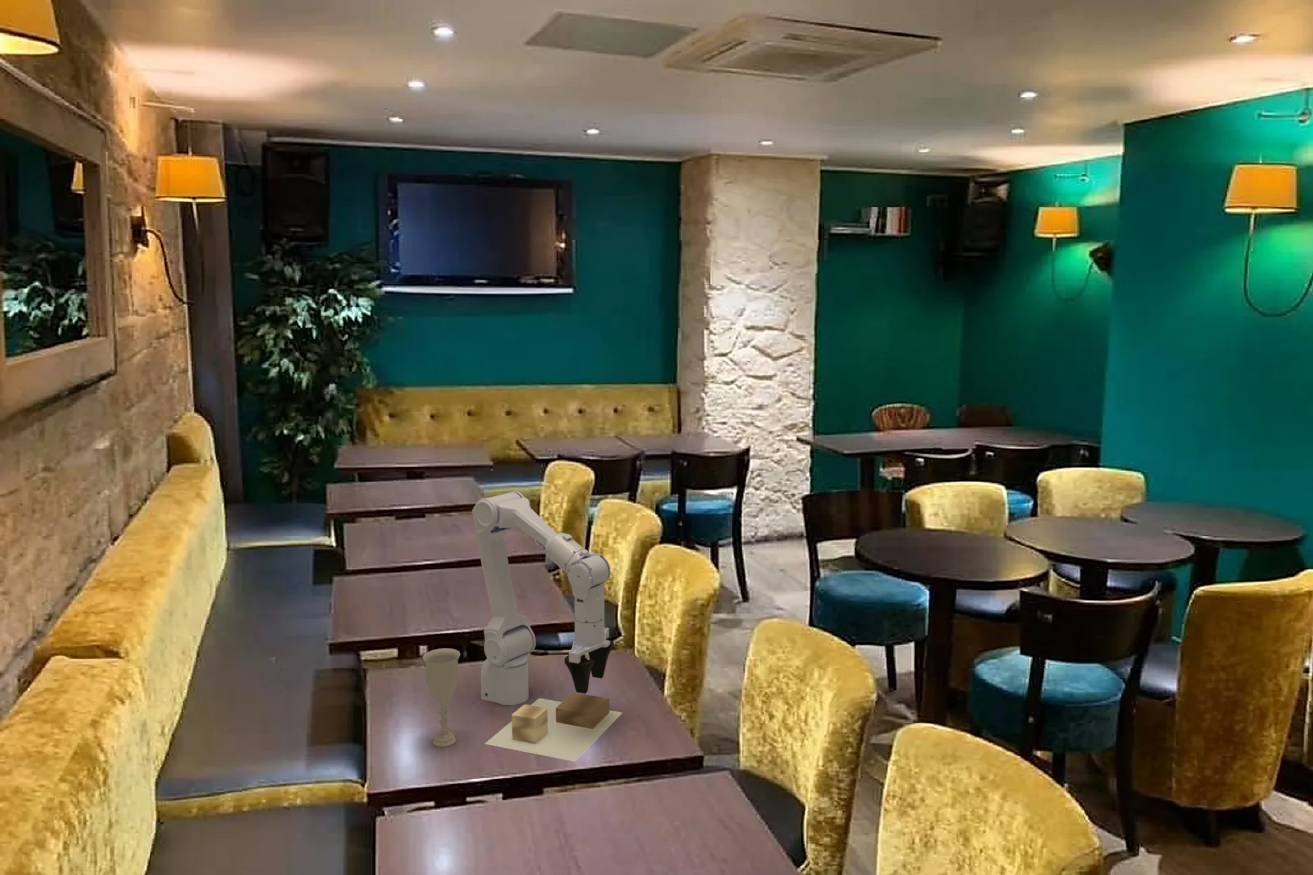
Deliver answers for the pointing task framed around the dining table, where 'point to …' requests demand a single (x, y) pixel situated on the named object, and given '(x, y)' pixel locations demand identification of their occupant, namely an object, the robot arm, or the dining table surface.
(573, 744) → the plain cream board
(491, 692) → the robot arm
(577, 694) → the walnut slab
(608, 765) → the dining table surface
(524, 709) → the light wooden cube
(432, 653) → the chalice
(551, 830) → the dining table surface
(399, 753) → the dining table surface
